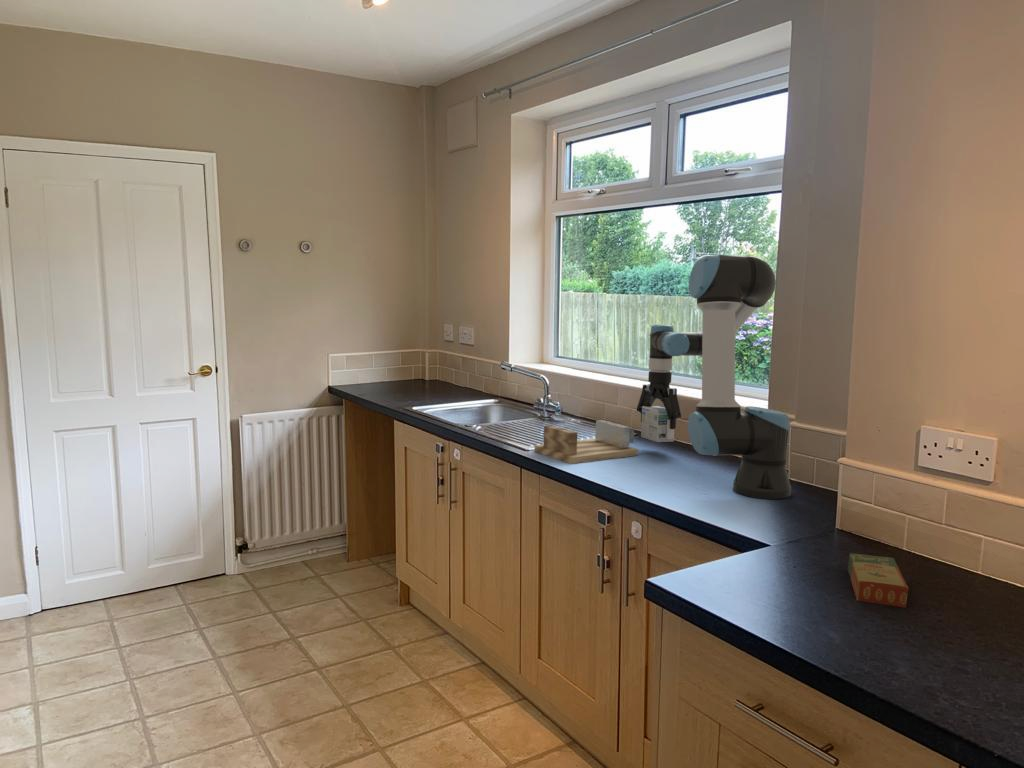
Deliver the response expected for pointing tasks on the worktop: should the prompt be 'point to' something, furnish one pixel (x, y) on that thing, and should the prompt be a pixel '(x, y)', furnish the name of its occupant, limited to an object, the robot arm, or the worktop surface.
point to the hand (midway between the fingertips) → (657, 435)
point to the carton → (877, 580)
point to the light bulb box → (654, 423)
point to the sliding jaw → (614, 434)
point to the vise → (578, 447)
